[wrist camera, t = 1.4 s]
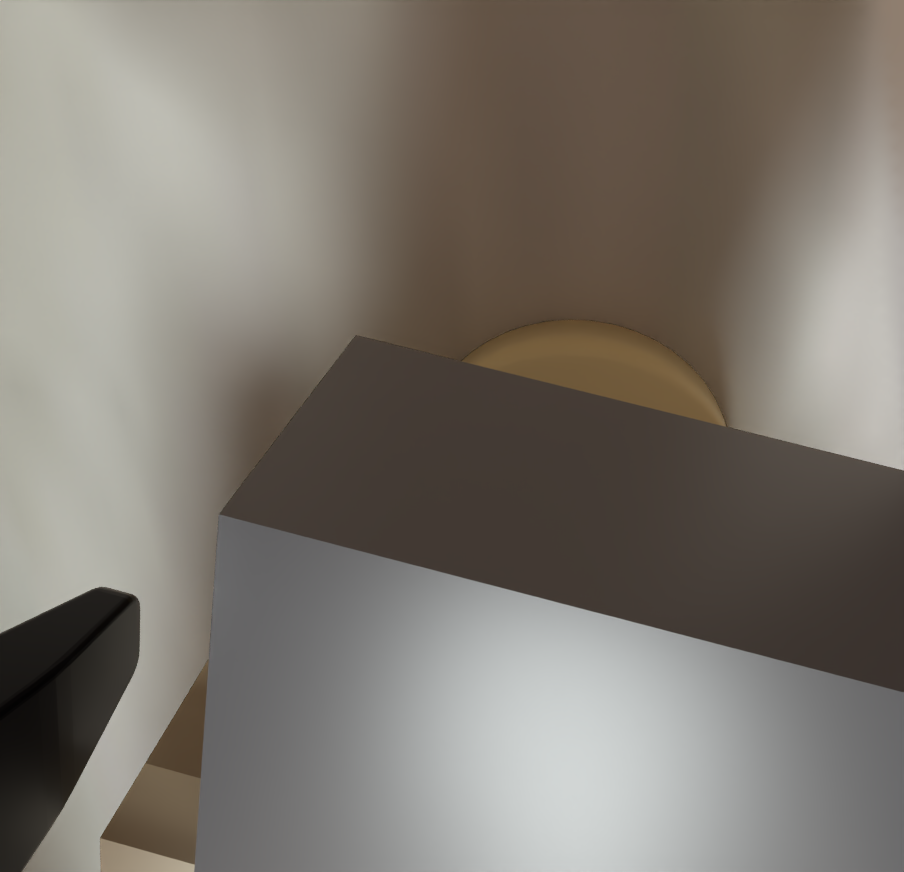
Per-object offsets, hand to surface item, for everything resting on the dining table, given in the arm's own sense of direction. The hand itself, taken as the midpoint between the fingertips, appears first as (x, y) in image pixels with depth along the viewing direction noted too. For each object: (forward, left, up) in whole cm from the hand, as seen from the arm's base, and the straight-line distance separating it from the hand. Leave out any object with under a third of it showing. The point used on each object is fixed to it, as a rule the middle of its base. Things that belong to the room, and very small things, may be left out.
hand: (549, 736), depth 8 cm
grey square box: (0, 0, -6) cm, 6 cm away
